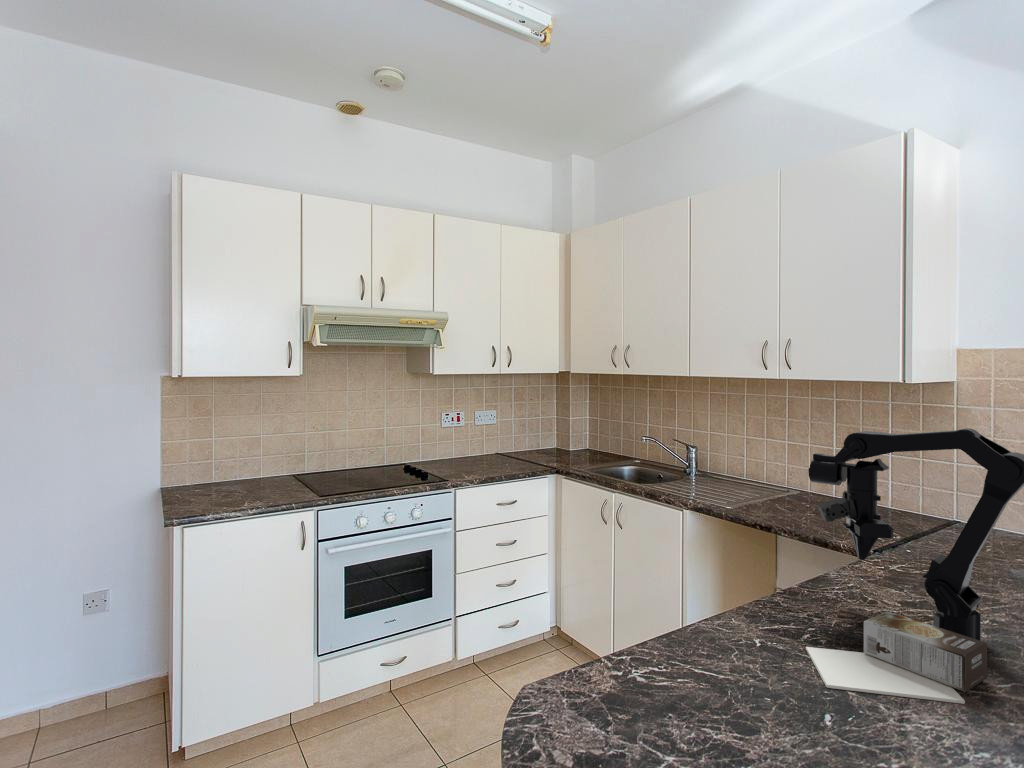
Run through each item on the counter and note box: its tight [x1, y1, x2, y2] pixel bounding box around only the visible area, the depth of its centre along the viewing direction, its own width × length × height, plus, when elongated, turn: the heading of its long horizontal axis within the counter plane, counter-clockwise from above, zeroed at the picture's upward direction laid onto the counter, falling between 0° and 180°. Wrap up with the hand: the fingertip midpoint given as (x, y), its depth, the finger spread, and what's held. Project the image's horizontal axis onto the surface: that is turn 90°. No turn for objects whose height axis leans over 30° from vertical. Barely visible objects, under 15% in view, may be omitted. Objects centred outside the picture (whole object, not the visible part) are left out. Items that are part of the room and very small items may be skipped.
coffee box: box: [863, 611, 988, 693], centre depth 103 cm, size 9×6×16 cm
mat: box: [805, 646, 966, 705], centre depth 101 cm, size 20×14×1 cm
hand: (861, 559), depth 127 cm, fingers closed
